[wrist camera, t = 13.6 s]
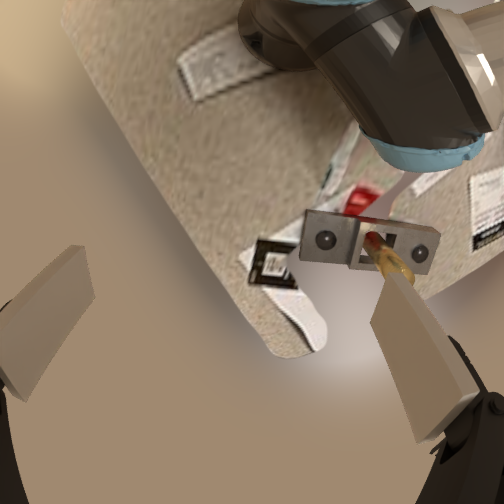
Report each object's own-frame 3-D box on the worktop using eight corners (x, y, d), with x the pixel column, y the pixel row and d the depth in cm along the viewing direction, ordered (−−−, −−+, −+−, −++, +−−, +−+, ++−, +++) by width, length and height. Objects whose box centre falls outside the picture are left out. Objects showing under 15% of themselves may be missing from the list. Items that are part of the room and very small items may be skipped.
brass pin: (364, 229, 44) (396, 269, 32) (383, 232, 44) (418, 271, 32) (359, 249, 45) (387, 293, 34) (378, 251, 45) (409, 294, 34)
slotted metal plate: (306, 209, 43) (310, 217, 39) (432, 227, 43) (443, 235, 40) (298, 256, 46) (301, 267, 43) (420, 266, 46) (428, 276, 43)
